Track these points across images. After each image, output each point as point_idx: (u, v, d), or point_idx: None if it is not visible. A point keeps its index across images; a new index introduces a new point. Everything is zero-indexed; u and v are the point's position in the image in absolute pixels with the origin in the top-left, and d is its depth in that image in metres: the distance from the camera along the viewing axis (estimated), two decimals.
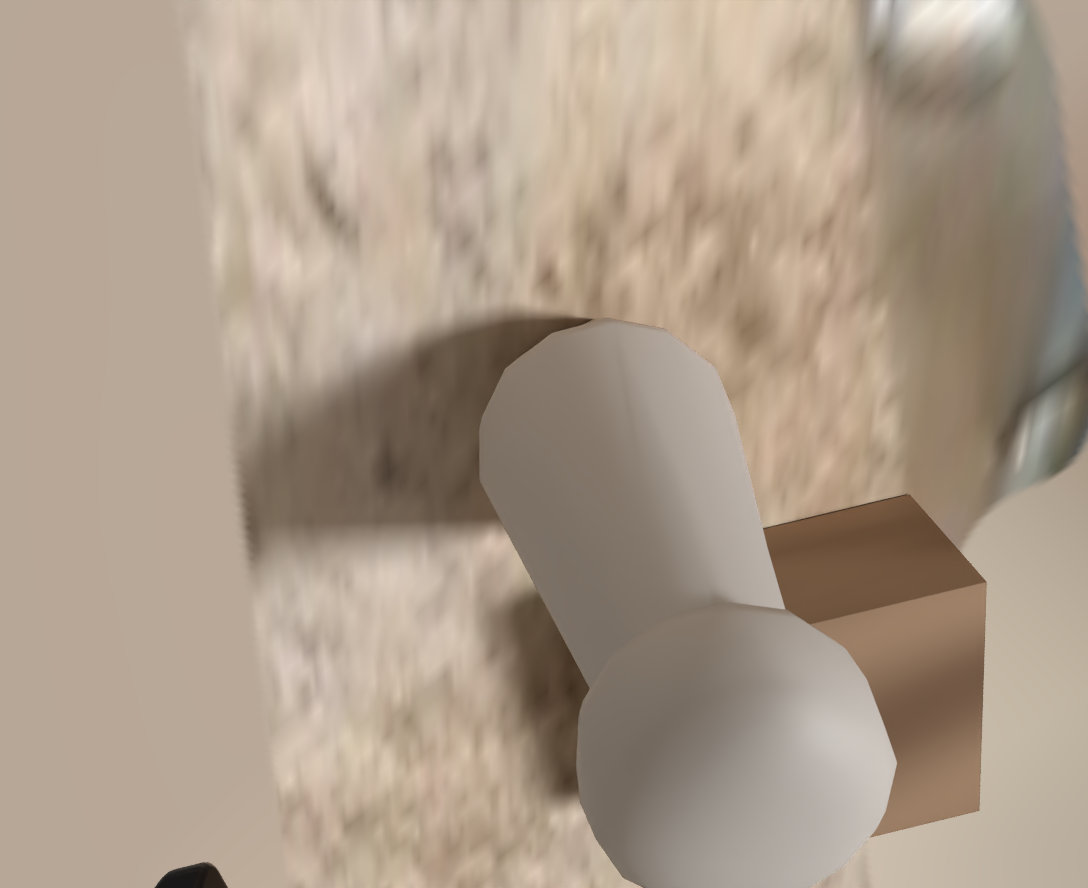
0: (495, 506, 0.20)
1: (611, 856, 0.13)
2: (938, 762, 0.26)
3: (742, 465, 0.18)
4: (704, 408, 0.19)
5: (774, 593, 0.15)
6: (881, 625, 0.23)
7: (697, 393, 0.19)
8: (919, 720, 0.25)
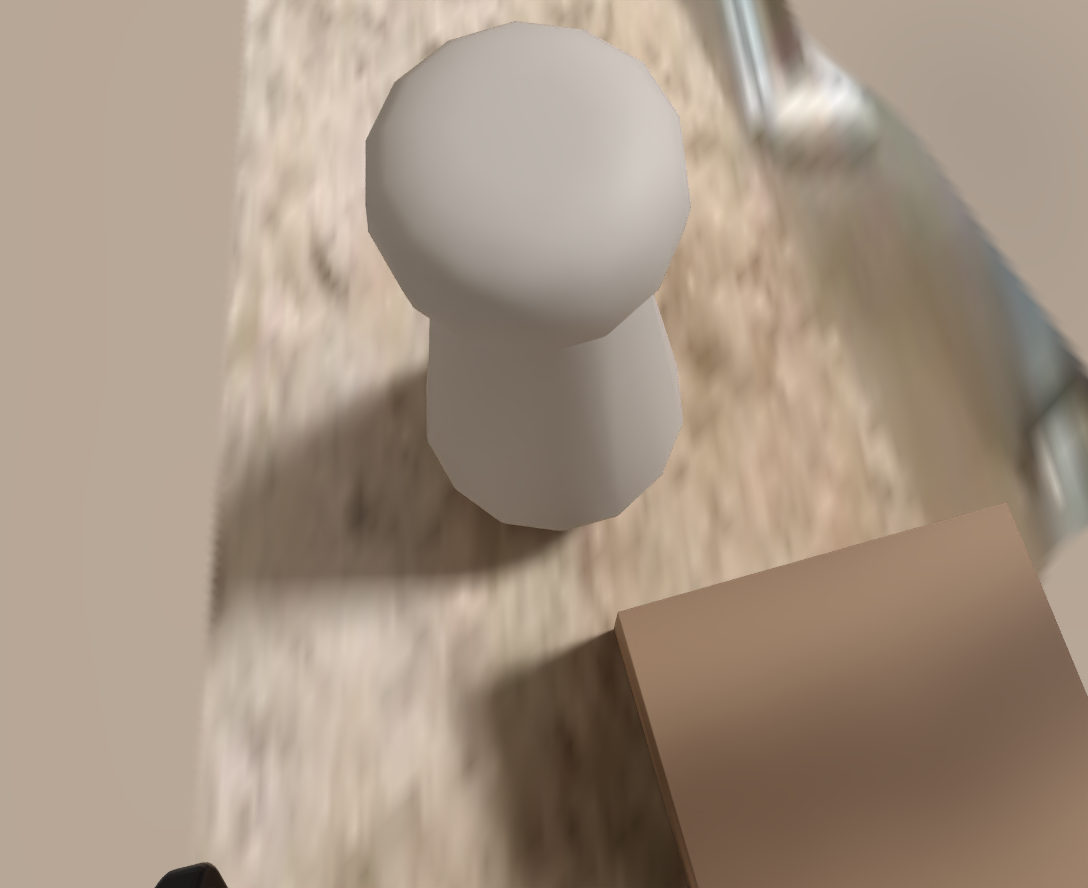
0: (428, 416, 0.21)
1: (381, 222, 0.12)
2: (1069, 815, 0.18)
3: None
4: None
5: None
6: (893, 565, 0.19)
7: None
8: (1004, 727, 0.18)
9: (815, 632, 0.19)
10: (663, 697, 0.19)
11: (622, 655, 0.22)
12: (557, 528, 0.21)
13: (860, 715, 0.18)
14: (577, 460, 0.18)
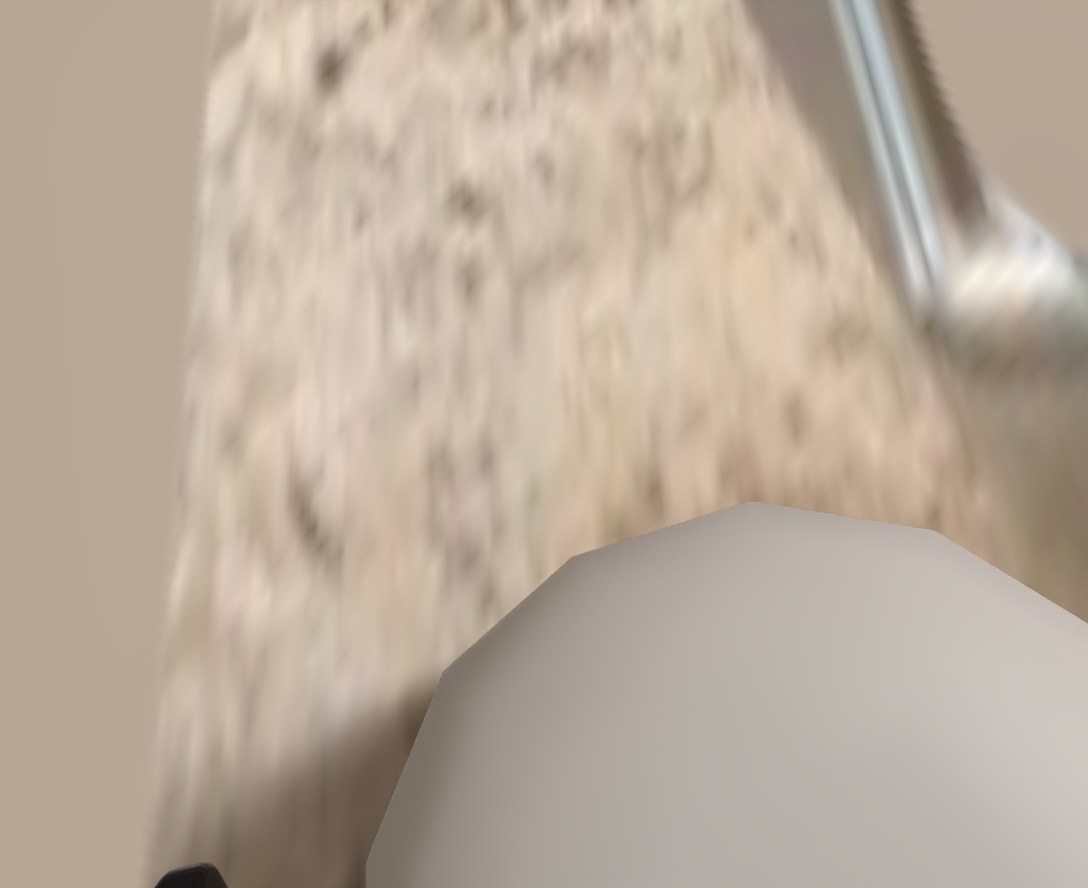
0: None
1: None
2: None
3: None
4: None
5: None
6: None
7: None
8: None
9: None
10: None
11: None
12: None
13: None
14: None
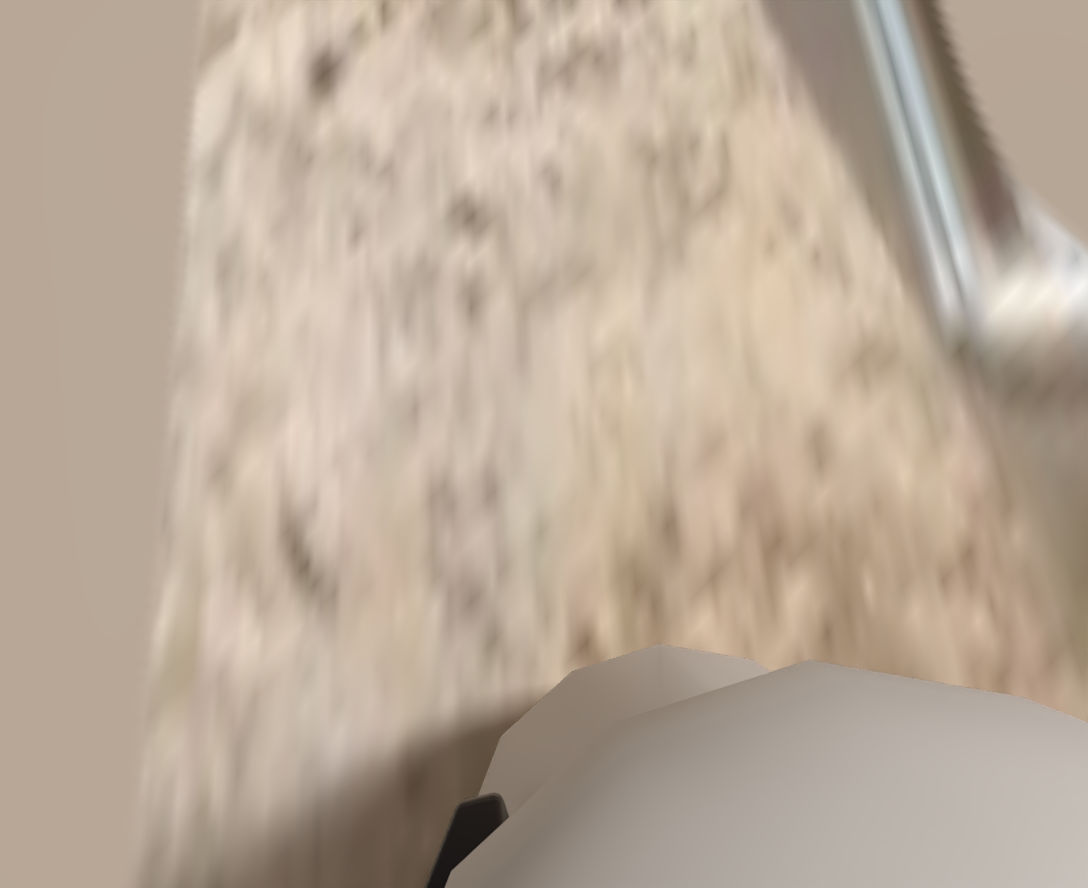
0: None
1: None
2: None
3: None
4: None
5: None
6: None
7: None
8: None
9: None
10: None
11: None
12: None
13: None
14: None
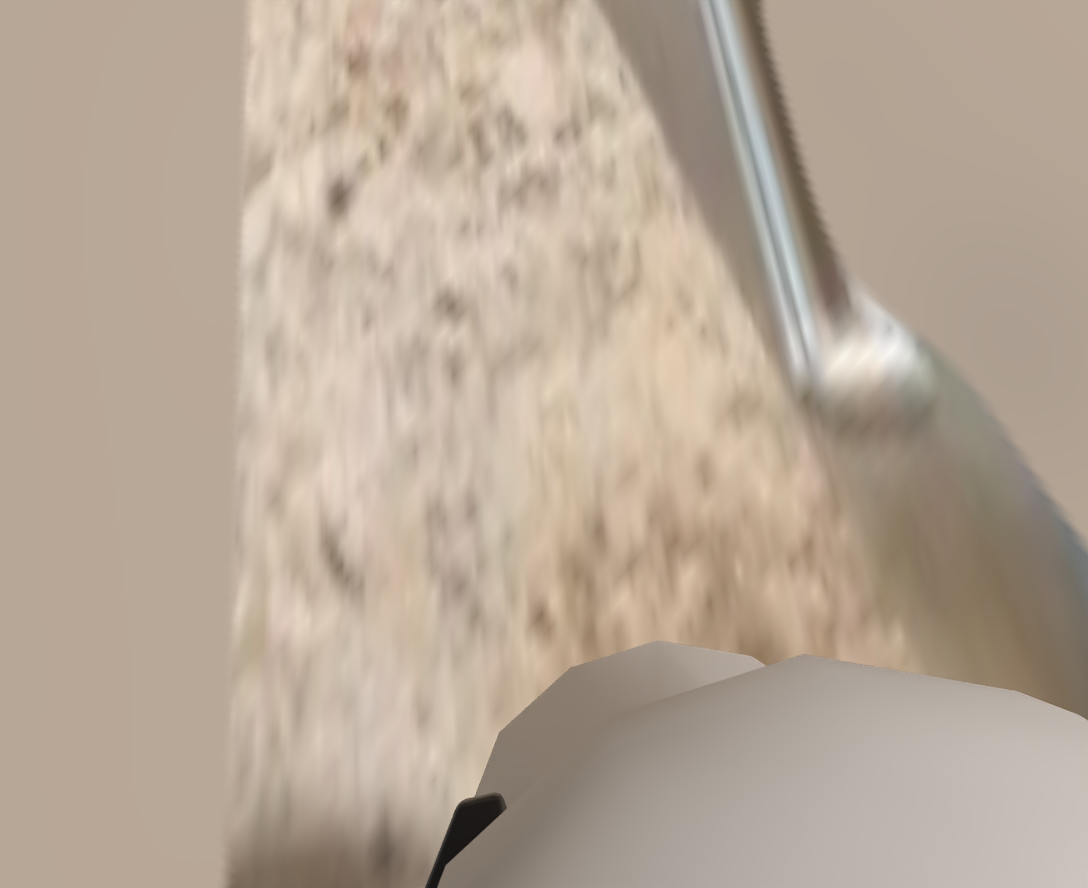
0: None
1: None
2: None
3: None
4: None
5: None
6: None
7: None
8: None
9: None
10: None
11: None
12: None
13: None
14: None
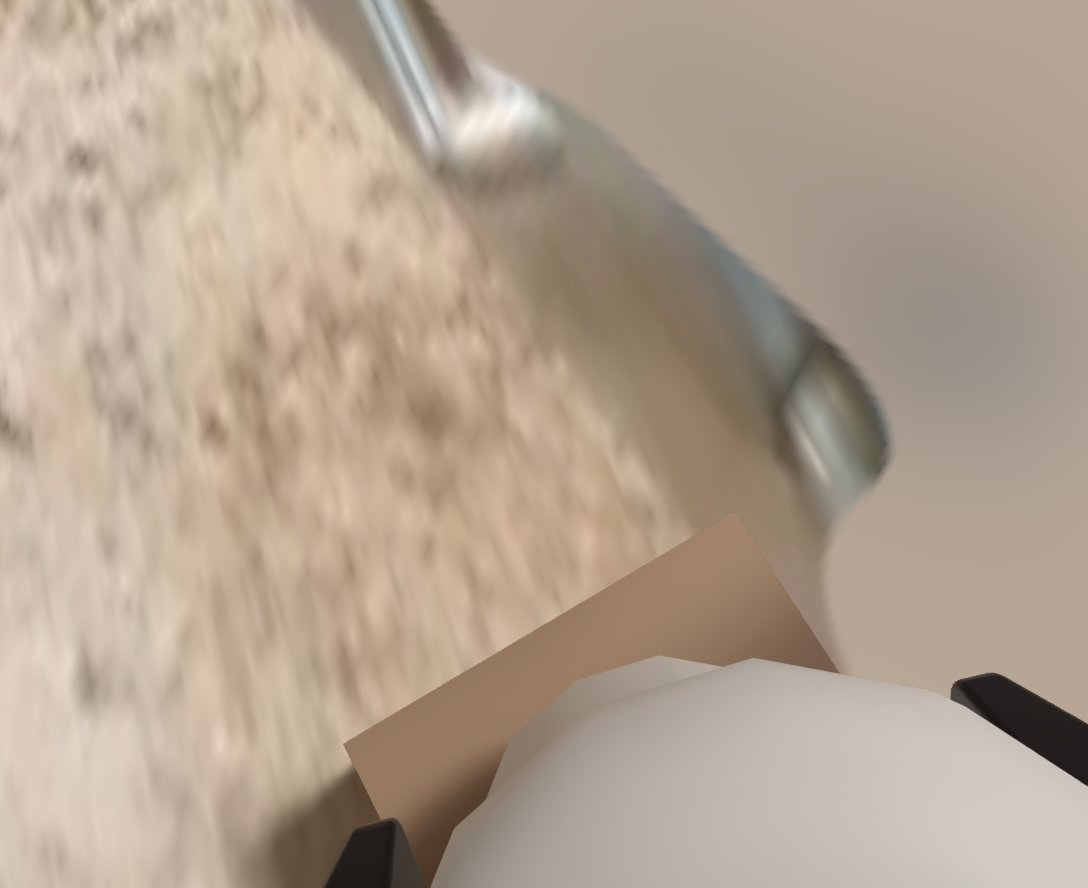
0: None
1: None
2: None
3: None
4: None
5: None
6: (629, 612, 0.17)
7: None
8: None
9: None
10: (410, 828, 0.16)
11: None
12: None
13: None
14: None
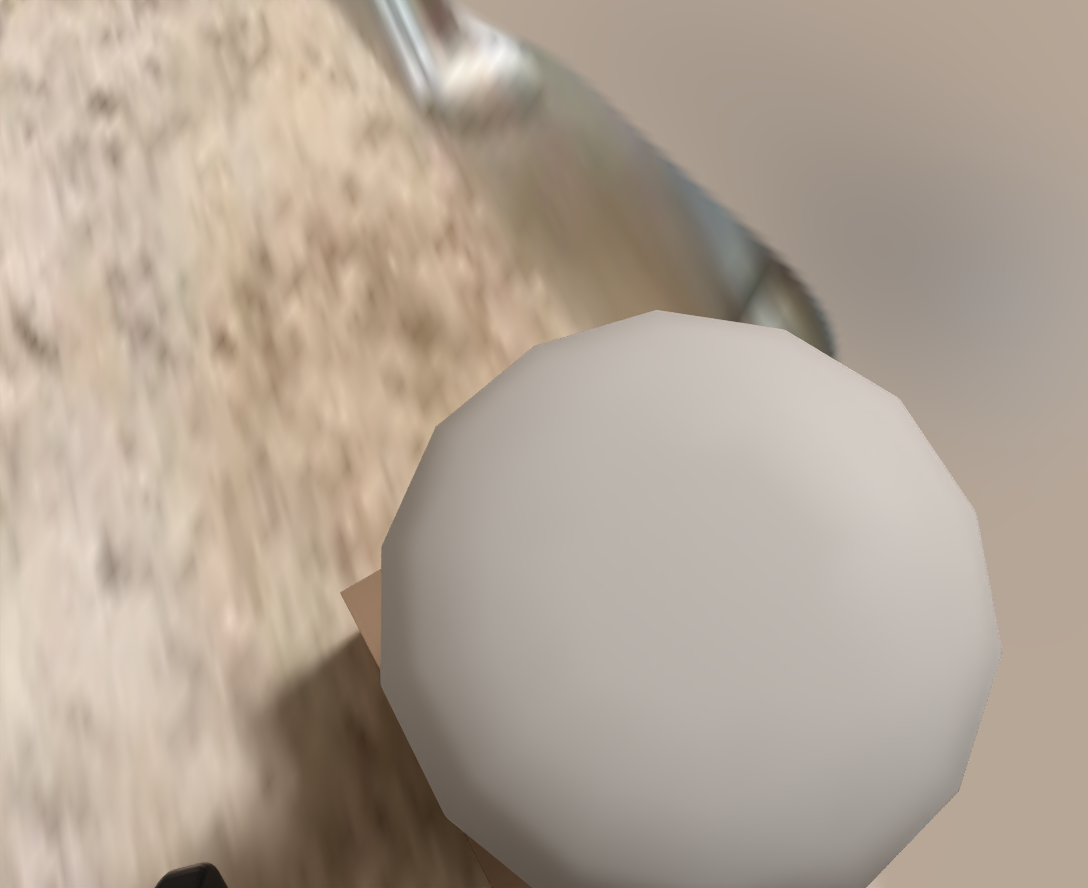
0: None
1: (410, 729, 0.06)
2: None
3: None
4: None
5: None
6: None
7: None
8: None
9: None
10: None
11: None
12: None
13: None
14: None
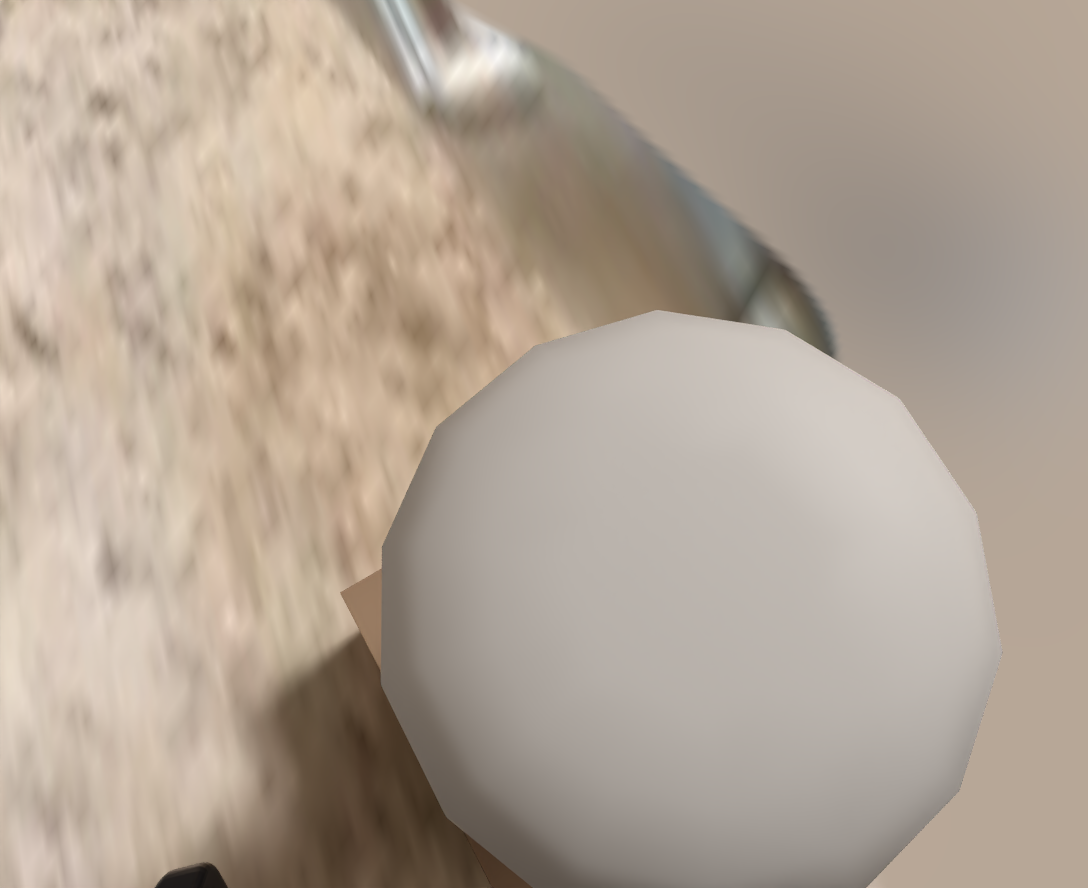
0: None
1: (411, 729, 0.06)
2: None
3: None
4: None
5: None
6: None
7: None
8: None
9: None
10: None
11: None
12: None
13: None
14: None
